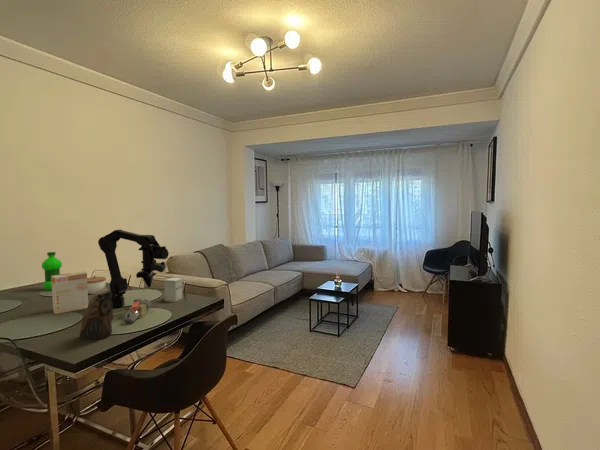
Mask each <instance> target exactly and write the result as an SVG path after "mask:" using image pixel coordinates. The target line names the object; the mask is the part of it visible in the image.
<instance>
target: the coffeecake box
mask: <svg viewBox="0 0 600 450" xmlns="http://www.w3.org/2000/svg"><path fill="white" fill-rule="evenodd" d="M87 278H88V273H87V272H86V271H77V272H69V273H62V274H61V273H60V275H52V276H51V279H52V291H51V294H52V295H51V296H52V312H53V313H54V315H57V314H63V313H64V314H65V313H68V312H74V311H79V310H80V311H81V310H84V309H87V307H88V305H89V294H88V287H87Z"/></svg>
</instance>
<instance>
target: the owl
mask: <svg viewBox="0 0 600 450" xmlns="http://www.w3.org/2000/svg"><path fill="white" fill-rule="evenodd" d="M111 297H112V293H111V291H110V288H109V287H108V286H106V285H105V287H104V288H103V289H101V290H99V291H98V292H97V293H96V294H93V296H92V297H91V299H90V300H89V301H88V307H87V308H86V311H85V313H84V317H83V318H82V321H81V327H80V332H79V339H86V340H94V341H102V340H106V339H108V338H109V337H111V334H112V332H113V330H112V329H113V328H112V326H113V325H112V320H113V319H114V313H113V312H114V308H112V306H113V303H112V302H111Z"/></svg>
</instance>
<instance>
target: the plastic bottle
mask: <svg viewBox="0 0 600 450" xmlns="http://www.w3.org/2000/svg"><path fill="white" fill-rule="evenodd" d="M46 255H47V256H48V257H47V258H46V259H44V261H42V263H41V268H42V270H43V271H44V282H43V285H42V286H43V288H45V289H46V290H47V291H50V292H52V279H51V276H52V275H60V274H61V268H62V266H63V265H62V264H63V263H62V261H61V260H60V259H59V258H57V257H56V251H50V252H47V254H46Z"/></svg>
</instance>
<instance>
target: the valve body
mask: <svg viewBox="0 0 600 450" xmlns="http://www.w3.org/2000/svg"><path fill="white" fill-rule="evenodd" d="M141 301H142V304H141V305H139V307H138V309H137V310H132V311H131V307H132V306H130V307H129V308H128V311H126V312H125V313H124V314H123V315H122V320H123V322H124V323H125V324H127V325H129V324H132V323H134V322H135V321H136V320H137V319H142V318H144V317H145V316H146V315H147V310H149V309H150V308H151V306H152V302H151V300H149V299H146V298H144V299H143V300H142V299H141ZM145 314H146V315H145ZM144 315H145V316H144Z"/></svg>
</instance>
